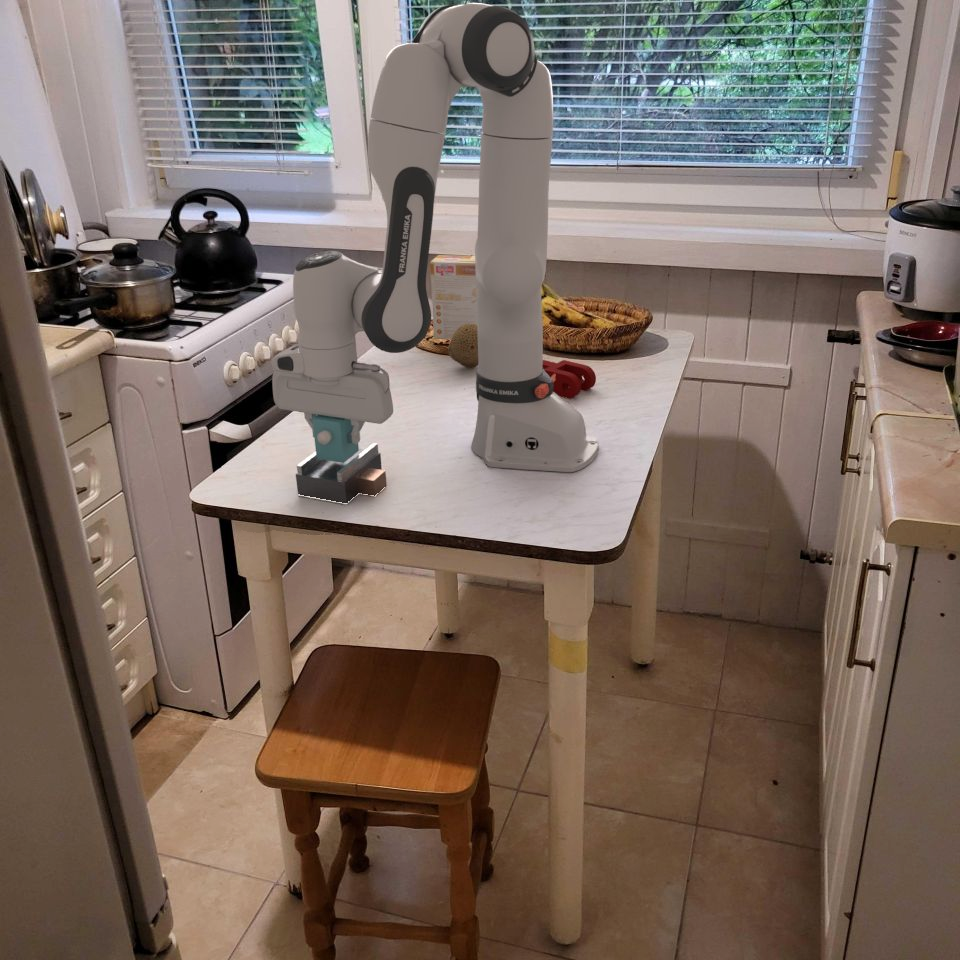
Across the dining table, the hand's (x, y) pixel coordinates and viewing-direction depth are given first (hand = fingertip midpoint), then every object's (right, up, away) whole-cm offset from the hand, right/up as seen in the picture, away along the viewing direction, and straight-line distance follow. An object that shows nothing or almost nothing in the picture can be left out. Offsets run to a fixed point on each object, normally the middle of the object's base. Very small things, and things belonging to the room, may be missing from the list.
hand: (336, 439), depth 158 cm
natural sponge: (+21, +17, +53) cm, 60 cm away
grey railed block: (+2, -8, +3) cm, 8 cm away
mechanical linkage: (+38, +12, +42) cm, 58 cm away
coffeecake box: (+21, +26, +70) cm, 77 cm away
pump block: (0, -2, +1) cm, 3 cm away
